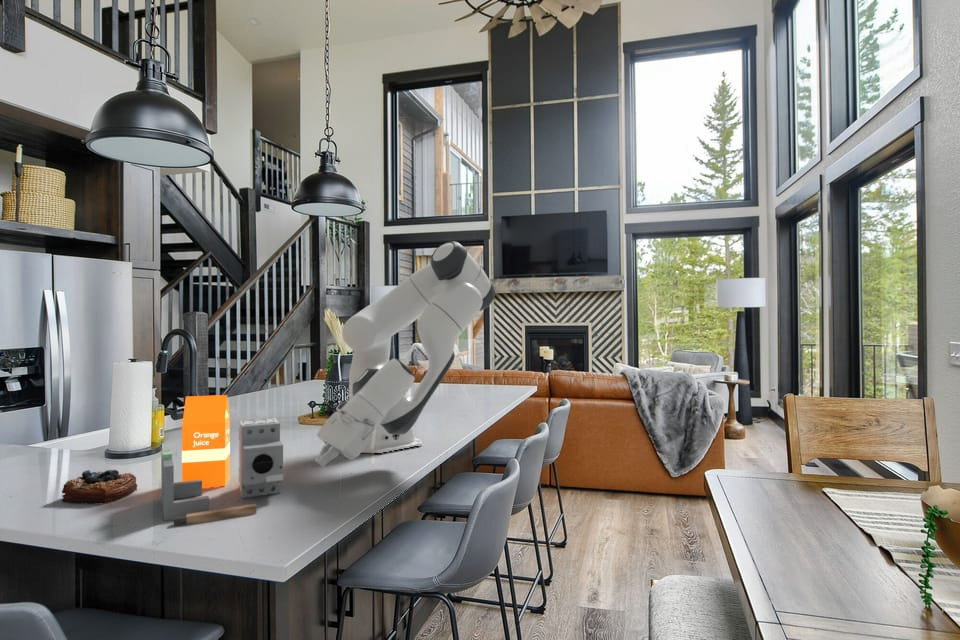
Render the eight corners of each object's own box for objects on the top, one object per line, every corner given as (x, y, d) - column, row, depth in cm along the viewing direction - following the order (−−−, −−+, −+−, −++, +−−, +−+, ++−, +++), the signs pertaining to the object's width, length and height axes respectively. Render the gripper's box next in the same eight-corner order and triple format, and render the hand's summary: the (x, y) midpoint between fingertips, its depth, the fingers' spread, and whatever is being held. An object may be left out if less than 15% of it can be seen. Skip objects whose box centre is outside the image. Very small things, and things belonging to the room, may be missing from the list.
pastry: (95, 488, 127) (95, 462, 127) (145, 490, 125) (145, 463, 125) (53, 504, 116) (53, 476, 116) (108, 506, 114) (108, 477, 114)
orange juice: (225, 486, 127) (225, 397, 127) (181, 490, 124) (181, 398, 124) (230, 477, 134) (229, 392, 134) (188, 480, 132) (188, 394, 132)
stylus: (255, 511, 111) (255, 503, 111) (256, 514, 109) (256, 505, 109) (173, 524, 104) (173, 516, 104) (174, 527, 102) (173, 518, 102)
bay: (201, 493, 122) (201, 442, 122) (209, 513, 109) (208, 456, 109) (161, 499, 118) (161, 446, 118) (164, 520, 105) (164, 461, 105)
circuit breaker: (245, 506, 113) (244, 431, 113) (238, 488, 126) (238, 420, 126) (284, 501, 117) (284, 428, 117) (274, 483, 129) (274, 417, 129)
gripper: (387, 433, 125) (343, 484, 120) (355, 418, 142) (315, 462, 137) (368, 414, 122) (322, 465, 117) (337, 402, 140) (296, 446, 134)
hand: (318, 463), depth 127 cm, fingers closed
